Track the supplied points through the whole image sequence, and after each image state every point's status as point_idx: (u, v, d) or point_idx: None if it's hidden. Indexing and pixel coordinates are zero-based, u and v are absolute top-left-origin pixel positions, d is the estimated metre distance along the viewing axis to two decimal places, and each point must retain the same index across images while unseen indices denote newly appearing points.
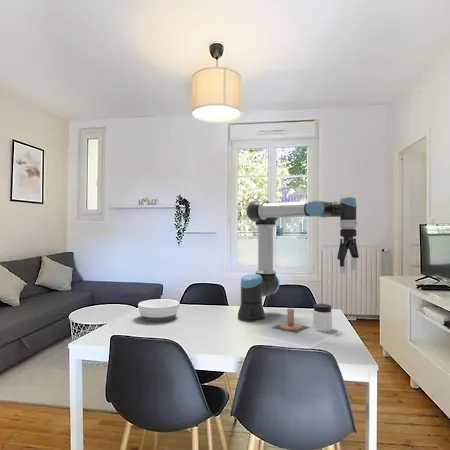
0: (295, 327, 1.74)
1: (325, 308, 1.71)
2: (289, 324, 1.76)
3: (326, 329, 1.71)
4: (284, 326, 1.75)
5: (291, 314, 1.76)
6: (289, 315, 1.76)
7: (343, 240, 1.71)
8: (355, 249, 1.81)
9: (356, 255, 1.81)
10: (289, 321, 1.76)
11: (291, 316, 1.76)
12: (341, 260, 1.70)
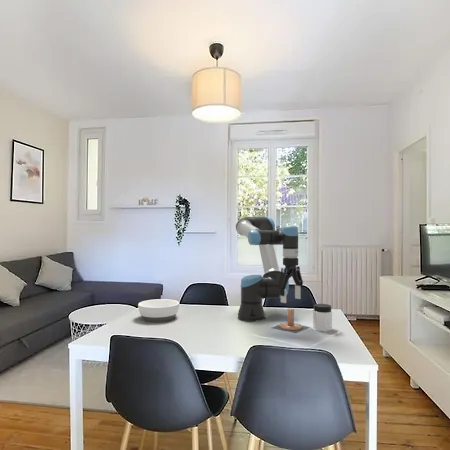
0: (295, 327, 1.74)
1: (325, 308, 1.71)
2: (289, 324, 1.76)
3: (326, 329, 1.71)
4: (284, 326, 1.75)
5: (291, 314, 1.76)
6: (289, 315, 1.76)
7: (284, 269, 1.72)
8: (299, 277, 1.82)
9: (300, 283, 1.82)
10: (289, 321, 1.76)
11: (291, 316, 1.76)
12: (281, 289, 1.71)
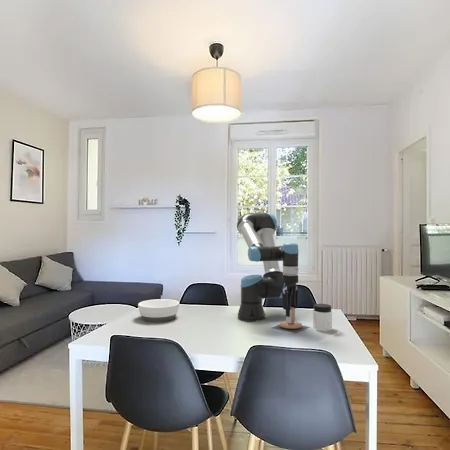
0: (295, 325, 1.74)
1: (325, 308, 1.71)
2: None
3: (326, 329, 1.71)
4: (284, 324, 1.75)
5: (291, 312, 1.76)
6: None
7: (284, 291, 1.72)
8: (296, 297, 1.80)
9: (295, 305, 1.79)
10: None
11: (291, 314, 1.76)
12: (287, 310, 1.75)
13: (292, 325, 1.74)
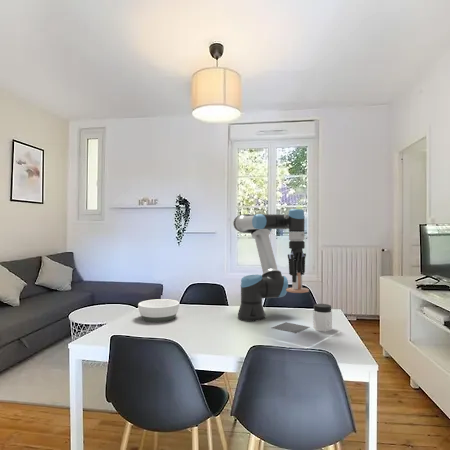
0: (302, 290, 1.73)
1: (325, 308, 1.71)
2: None
3: (326, 329, 1.71)
4: (291, 289, 1.75)
5: (298, 277, 1.75)
6: None
7: (290, 256, 1.72)
8: (302, 264, 1.79)
9: (302, 272, 1.78)
10: None
11: (298, 279, 1.75)
12: (293, 276, 1.74)
13: (299, 290, 1.73)
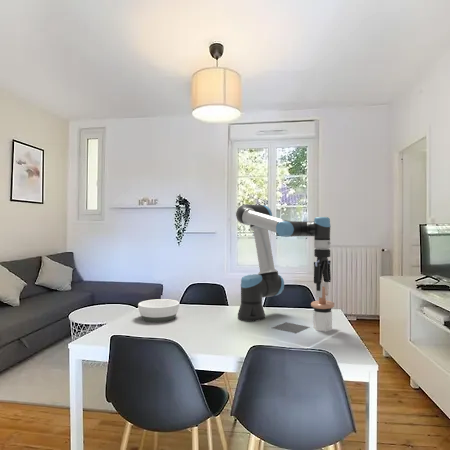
0: (328, 305, 1.71)
1: None
2: (321, 302, 1.74)
3: (326, 329, 1.71)
4: (316, 305, 1.73)
5: (323, 292, 1.73)
6: None
7: (316, 264, 1.70)
8: (328, 272, 1.79)
9: (328, 279, 1.77)
10: (321, 299, 1.73)
11: (323, 294, 1.73)
12: (317, 284, 1.71)
13: (325, 305, 1.72)
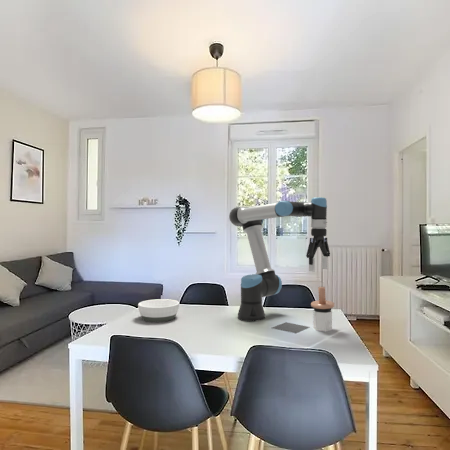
0: (328, 305, 1.71)
1: None
2: (321, 302, 1.74)
3: (326, 329, 1.71)
4: (316, 305, 1.73)
5: (323, 292, 1.73)
6: (321, 293, 1.73)
7: (312, 239, 1.76)
8: (326, 248, 1.87)
9: (327, 254, 1.86)
10: (321, 299, 1.73)
11: (323, 294, 1.73)
12: (310, 258, 1.76)
13: (325, 305, 1.72)
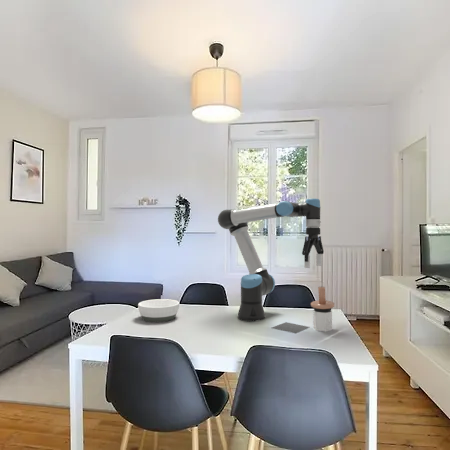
0: (328, 305, 1.71)
1: None
2: (321, 302, 1.74)
3: (326, 329, 1.71)
4: (316, 305, 1.73)
5: (323, 292, 1.73)
6: (321, 293, 1.73)
7: (307, 238, 1.88)
8: (320, 246, 1.99)
9: (321, 251, 1.98)
10: (321, 299, 1.73)
11: (323, 294, 1.73)
12: (305, 256, 1.87)
13: (325, 305, 1.72)
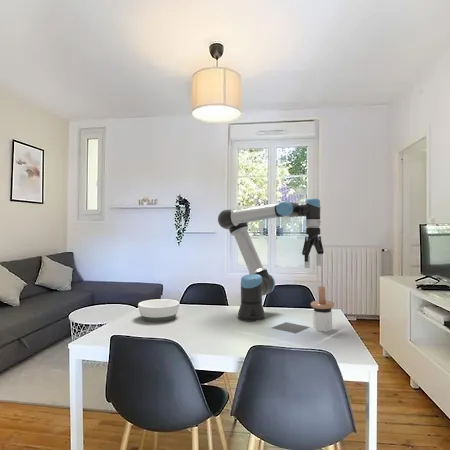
0: (328, 305, 1.71)
1: None
2: (321, 302, 1.74)
3: (326, 329, 1.71)
4: (316, 305, 1.73)
5: (323, 292, 1.73)
6: (321, 293, 1.73)
7: (307, 238, 1.88)
8: (320, 246, 1.99)
9: (321, 251, 1.98)
10: (321, 299, 1.73)
11: (323, 294, 1.73)
12: (305, 256, 1.87)
13: (325, 305, 1.72)
